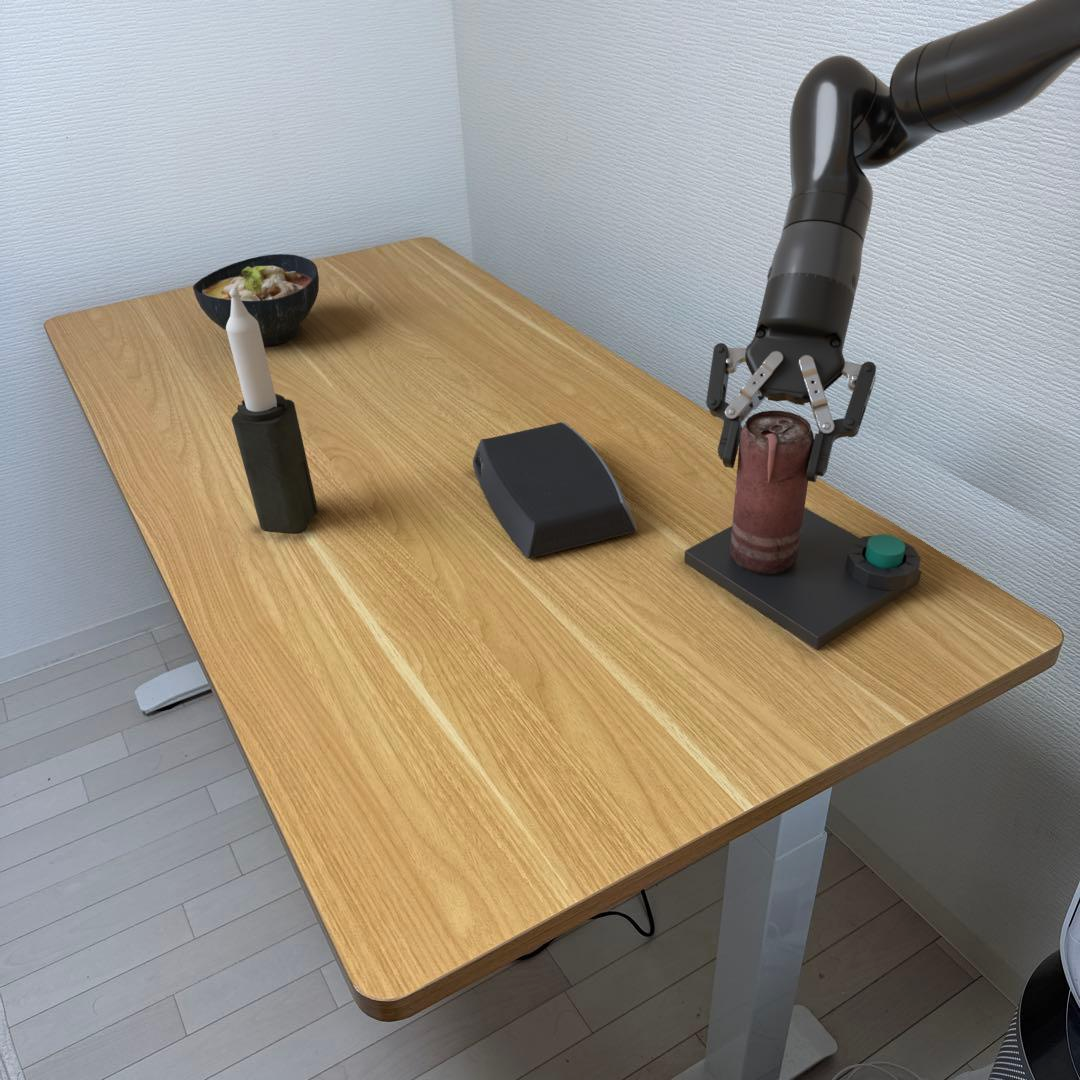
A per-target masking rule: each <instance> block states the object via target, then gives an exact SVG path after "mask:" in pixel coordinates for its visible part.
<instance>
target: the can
mask: <svg viewBox="0 0 1080 1080" xmlns="http://www.w3.org/2000/svg"><path fill="white" fill-rule="evenodd" d="M814 438H815V434H814V432H813V430H812V427H811V423H810V422H809V421H808V420H807V419H806V418H805V417H803V416H802V415H800V414H797V413H794V412H790V411H787V410H785V411H784V410H765V411H764V410H763V411H760V412H756V413H754V414H752V415H750V416H749V417H747V419H746V421H745V423H744V425H742V430H741V431H740V443H739V447H738V453H737V455H738V456H737V466H736V467H737V468H736V478H735V490H734V502H733V511H732V513H733V514H732V524H731V526H732V535H731V546H730V553H731V555H732V557H733V559H734V560H735V562H736V563H737V564H738V565H739V566H740V567H741V568H742V569H745V570H747V571H749V572H751V573H755V574H759V575H773V574H779V573H781V572H784V571H786V570H787V569H788V568H790V567H791V566H792V565H793V564H794V563H795V562H796V559H797V557H798V551H799V544H800V537H801V529H802V522H803V515H804V508H806V502H807V501H806V500H807V495H808V494H807V492H808V486H809V481H807V478H806V474H807V469H808V465H809V460H810V456H811V451H812V447H813V442H814Z"/></svg>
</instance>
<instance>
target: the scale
mask: <svg viewBox="0 0 1080 1080" xmlns="http://www.w3.org/2000/svg"><path fill="white" fill-rule="evenodd" d="M731 535H732V525H731V526H728V527H727V528H725V529H723V530H721V531H719V532H717V533H716V534H714V535H712V536H710V537H708V538H706V539H704V540H702V541H701V542H698V543H697V544H695V545H693V546H691V547H690V548H687V549H685V550H684V556H683V557H684V558H683V559H684V560H683V562H684V564H686V565H688V566H689V567H691V568H692V569H694V570H695V571H696V572H698V573H700V574H701V575H702V576H704V577H706V578H707V579H708V580H710V581H712V582H713V583H715V584H716V585H718V586H719V587H721V589H724V590H725V591H727V592H728V593H730V594H731V595H733V597H736V598H737V599H739V600H740V601H742V602H743V603H745V604H747V605H748V606H749V607H751V608H753V609H754V610H755V611H757V612H758V613H760V614H761V615H763V616H764V617H766V618H768V619H769V620H771V621H772V622H774V623H775V624H776V625H778V626H780V627H781V628H782V629H784V630H786V631H787V632H789V633H790V634H792V635H793V636H795V637H796V638H798V639H799V640H801V641H802V642H803V643H805V644H807V645H809V646H810V647H811V648H813V649H814V650H816V651H818V650H819V649H821V648H822V647H824V646H825V645H827V644H828V643H830V642H831V641H833V640H834V639H836V638H837V637H840V635H842V634H843V633H845V632H847V631H848V630H850V629H852V627H854V626H856V625H857V624H859V623H861V622H862V621H864V620H865V619H866V618H868V617H870V616H871V615H872V614H874V613H876V612H877V611H879V610H880V609H882V608H884V607H885V606H886V605H888V604H889V603H891V602H892V601H894V600H896V599H897V598H899V597H900V596H902V595H903V594H905V593H906V592H908V591H909V590H911V589H912V588H915V586H918V584H920V580H921V576H922V573H923V571H922V570H920V565H921V561H922V557H921V556H920V554H919V553H918V551H917V550H916V549H915V547H914V546H913V545H911V544H909V543H908V542H905V541H903V543H904V544H905V552H904V556H903V561H902V564H901V565H900V566H898V567H896V568H888V569H887V568H882V567H877V566H874V565H873V564H871V563H869V562H868V561H867V560H866V558H865V553H866V548H867V542H868V540H869V538H871V537H872V536H874V535H875V534H874V535H865V536H864V535H863V536H861V537H860V536H858V535H856V534H854V533H852V532H850V531H849V530H847V529H845V528H843V527H841V526H839V525H837V524H836V523H834V522H831V521H830V520H828V519H826V518H824V517H823V516H822V515H819V514H817V513H816V512H814V511H812V510H810V509H808V508H806V507H805V508H804V515H803V522H802V529H801V537H800V544H799V551H798V557H797V559H796V562H795V563H794V564H793V565H792V566H791V567H790V568H788V569H787V570H786V571H784V572H781V573H779V574H773V575H759V574H755V573H751V572H749V571H747V570H745V569H742V568H741V567H740V566H739V565H738V564H737V563H736V562H735V560H734V559H733V557H732V555H731V553H730V546H731Z"/></svg>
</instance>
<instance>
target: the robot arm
mask: <svg viewBox="0 0 1080 1080" xmlns="http://www.w3.org/2000/svg"><path fill="white" fill-rule="evenodd" d="M1079 59H1080V0H1033V1H1030V2H1029V3H1026V4H1024V5H1023V6H1020V7H1017V8H1016V9H1014V10H1011V11H1009V12H1007V13H1004V14H1002V15H1000V16H997V17H994V18H992V19H990V20H987V21H985V22H981V23H978V24H976V25H973V26H970V27H967V28H965V29H961V30H959V31H956V32H954V33H951V34H948V35H945V36H942V37H939V38H937V39H934V40H932V41H929V42H926V43H923V44H921V45H918V46H917V47H915V48H913V49H911V50H909V51H908V52H906V53H905V54H904V55H903V56H902V57H901V58H900V59H899V60H898V62H897V63H896V65H895V66H894V68H893V71H892V73H891V76H890V81H889V86H888V85H887V84H886V83H884V82H883V80H881V79H880V78H879V77H878V76H877V75H876V74H875V73H873V72H872V71H871V70H869V68H867V67H866V66H865V65H864V64H862V63H861V62H860V61H859V60H857V59H855V58H853V57H851V56H848V55H841V54H839V55H834V56H829V57H826V58H825V59H823V60H821V61H819V62H818V63H816V65H814V66H813V67H812V68H811V69H810V70H809V71H808V73H807V74H806V75H805V76H804V78H803V79H802V81H801V83H800V85H799V86H798V88H797V91H796V94H795V96H794V100H793V102H792V105H791V110H790V116H789V117H790V118H789V167H790V169H789V171H790V172H789V173H790V180H791V181H790V182H791V183H790V184H791V193H790V198H789V201H788V205H787V210H786V213H785V219H784V223H783V227H782V231H781V235H780V239H779V241H778V243H777V246H776V249H775V251H774V254H773V256H772V261H771V265H770V266H769V269H768V272H767V277H766V279H767V282H766V286H765V290H764V293H763V298H762V304H761V307H760V312H759V316H758V320H757V323H756V328H755V333H754V336H753V339H752V340H751V342H749V344H748V345H746V348H745V347H743V348H742V347H740V348H739V347H738V348H737V347H728V346H727V345H726V344H725V343H723V342H719V343H716V345H714V346H713V350H712V359H711V366H710V371H709V373H710V374H709V379H708V386H707V388H708V389H707V393H706V400H705V405H706V407H707V408H708V410H709V412H710V415H711V416H712V417H714V418H718V419H721V420H722V421H723V425H722V428H721V429H722V430H721V434H720V437H719V442H718V447H717V454H718V458H719V459H720V460H722V464H723V467H725V468H730V469H734V467H735V465H736V459H737V457H738V456H737V455H738V452H739V443H740V431H741V430H742V428H743V425H742V423H743V422H744V421H745V420H746V418H748V416H749V415H750V414H751V413H752V412H753V411H754V410H756V409H758V407H759V406H760V405H761V404H762V403H763V401H765V399H766V398H767V400H768V401H772V402H784V401H785V402H789V403H791V404H794V405H800V406H805V404H809V405H810V406H809V407H810V408H811V412H812V415H813V418H814V420H815V424H816V426H817V429H818V433H815V434H814V442H813V447H812V451H811V456H810V460H809V465H808V469H807V474H806V478H807V481H808V482H811V483H816V481H817V478H818V477H824V475H825V474H826V473H827V472H828V467H829V463H830V458H831V454H832V453H831V452H832V450H833V449H832V448H833V446H834V445H833V444H834V443H835V441H836V440H838V439H841V438H846V437H847V438H854V437H856V436H857V435H858V434H859V431H860V428H861V425H862V422H863V419H864V417H865V412H866V410H867V406H868V405H869V401H870V397H871V395H872V391H873V388H874V385H875V382H876V379H877V366H876V364H875V363H874V362H872V361H865V362H863V363H862V364H860V363H855V362H850V361H846V360H845V357H844V354H843V353H844V352H843V351H844V347H845V341H846V337H847V332H848V329H849V323H850V319H851V315H852V310H853V307H854V301H855V297H856V292H857V287H858V284H859V279H860V274H861V268H862V259H863V258H862V257H863V248H864V243H865V238H866V234H867V229H868V225H869V222H870V217H871V213H872V212H871V211H872V208H873V201H874V200H873V199H874V190H873V186H872V183H871V182H870V180H869V178H868V176H867V175H866V174H865V172H864V171H863V170H875V169H879V168H882V167H885V166H887V165H888V164H891V163H892V162H894V161H896V160H898V159H899V158H900V157H902V156H904V155H906V154H907V153H909V152H911V151H913V150H914V149H915V148H917V147H920V146H921V145H923V144H924V143H926V142H927V141H929V140H930V139H932V138H934V137H935V136H936V135H940V134H944V133H948V132H953V131H956V130H960V129H964V128H968V127H971V126H976V125H978V124H982V123H985V122H989V121H992V120H993V121H994V120H996V119H999V118H1001V117H1004V116H1007V115H1009V114H1011V113H1014V112H1015V111H1017V110H1019V109H1021V108H1022V107H1024V106H1025V105H1027V104H1028V103H1030V102H1031V101H1033V100H1034V99H1036V98H1037V97H1039V96H1040V95H1041V94H1042V93H1043V92H1044V91H1045V90H1046V89H1047V88H1049V87H1050V86H1051V85H1052V84H1053V83H1054V82H1055V81H1056V80H1057V79H1058V78H1059V77H1060V76H1061V75H1063V73H1064V72H1066V70H1067V69H1068V68H1069V67H1071V66H1072V65H1073V64H1074V63H1075V62H1076V61H1077V60H1079ZM743 363H745V364H746V366H747V368H748V370H749V372H750V374H751V376H750V378H749V379H748V380H747V381H746V382H745V383H744V385H742V387H741V388H740V390H739V393H738V394H737V395H736V396H735V397H734V399H732V400H731V402H729V403H728V402H727V401H726V399H727V390H728V385H729V376H730V375H731V374H734V373H735V372H737V370H738V368H739V366H740V364H743ZM842 376H844V377H845V378H846V379H847V388H848V389H849V390H850V391H852V393H851V396H850V400H849V402H848V405H847V408H846V411H845V414H844V417H842V418H837V419H833V416H832V413H831V409H830V407H829V403H828V400H827V396H826V394H825V392H826V390H828V389H829V388H830V387H831V386H832V385H833V384H834V383H836V382H837V381H838V380H839V379H840V378H842Z"/></svg>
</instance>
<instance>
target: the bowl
mask: <svg viewBox="0 0 1080 1080" xmlns="http://www.w3.org/2000/svg"><path fill="white" fill-rule="evenodd" d="M319 288H320V276H319V271H318V266H317V265H316V264H315V262H314V261H313V260H311V259H309V258H307V257H303V256H301V255H296V254H289V253H287V254H286V253H275V254H274V253H273V254H265V255H259V256H254V257H250V258H247V259H243V260H240V261H237V262H234V263H231V264H229V265H226V266H224V267H221V268H218V269H216V270H215V271H213V272H211V273H209V274H207V275H205V276H204V277H202V278H201V279H199V280H198V281H196V282H195V283H194V284H193V285H192V290H193V294H194V296H195V299H196V301H197V304H198V305H199V307H200V308H201V310H202V311H203V312H204V314H205V315H206V316H207V318H209V319H210V320H211V321H212V322H213V323H214V324H216V325H217V326H219V327H220V328H221V329H222V330H224V331H226V325H227V322H228V320H229V318H230V314H231V299H232V297H231V296H230V294H229V293H230V291H231V289H236V290H238V291H239V298H240V299H241V301H242V303H243V304H244V306H245V308H246V309H247V311H248V313H249V314H251V315H252V316H253V317H254V318H255V319H256V320H257V321H258V323H259V328H260V332H261V336H262V340H263V345H264V348H266V347H272V346H277V345H281V344H284V343H286V342H288V341H291V340H292V339H294V338H295V337H296V336H297V335H298V333H299V330H300V326H301V324H302V323H303V321H305V319H306V318H307V317H308V315H309V314H310V312H311V310H312V309H313V306H314V305H315V302H316V300H317V298H318V294H319Z"/></svg>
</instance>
